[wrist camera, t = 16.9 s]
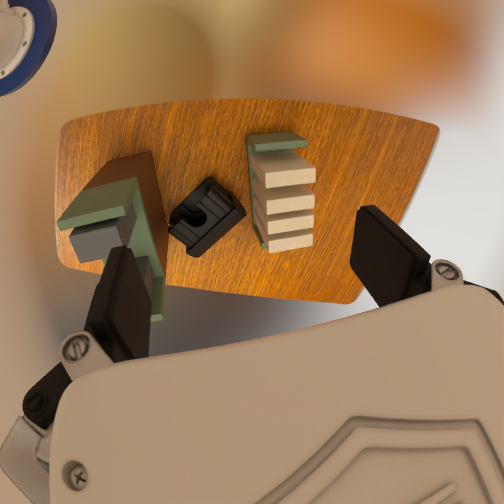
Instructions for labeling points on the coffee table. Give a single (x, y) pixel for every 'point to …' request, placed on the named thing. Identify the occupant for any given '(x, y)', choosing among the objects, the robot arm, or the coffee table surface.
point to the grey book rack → (123, 221)
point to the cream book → (282, 169)
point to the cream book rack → (279, 199)
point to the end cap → (205, 217)
